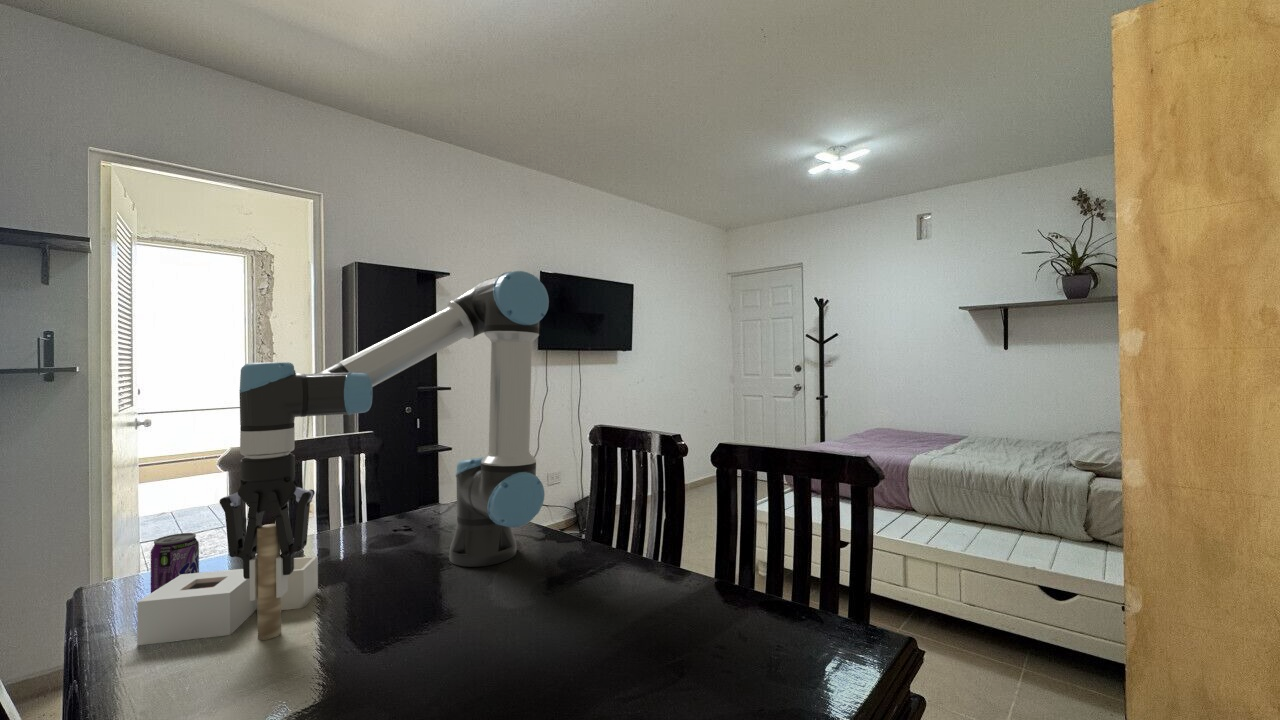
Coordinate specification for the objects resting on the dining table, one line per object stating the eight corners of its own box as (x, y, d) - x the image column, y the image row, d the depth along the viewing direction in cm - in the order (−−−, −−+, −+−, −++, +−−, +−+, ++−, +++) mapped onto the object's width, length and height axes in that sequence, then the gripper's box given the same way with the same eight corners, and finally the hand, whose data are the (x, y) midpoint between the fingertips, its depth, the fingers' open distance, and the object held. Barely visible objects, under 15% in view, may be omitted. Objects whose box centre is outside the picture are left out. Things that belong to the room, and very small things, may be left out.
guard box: (262, 604, 102) (261, 567, 102) (230, 634, 90) (229, 592, 90) (181, 612, 99) (181, 574, 99) (137, 645, 87) (137, 601, 87)
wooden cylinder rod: (284, 629, 92) (283, 523, 92) (276, 638, 89) (275, 528, 89) (262, 631, 91) (262, 524, 91) (254, 641, 88) (253, 530, 88)
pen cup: (317, 591, 107) (317, 556, 107) (303, 607, 100) (303, 569, 100) (274, 595, 106) (274, 559, 106) (257, 612, 98) (256, 574, 98)
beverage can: (170, 609, 100) (170, 544, 100) (140, 606, 102) (140, 542, 102) (208, 593, 107) (208, 532, 107) (179, 591, 109) (179, 531, 109)
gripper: (329, 448, 96) (330, 581, 95) (223, 453, 92) (224, 592, 92) (314, 455, 88) (315, 599, 88) (199, 461, 85) (200, 611, 84)
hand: (269, 595), depth 90 cm, fingers closed on wooden cylinder rod, 3 cm apart
